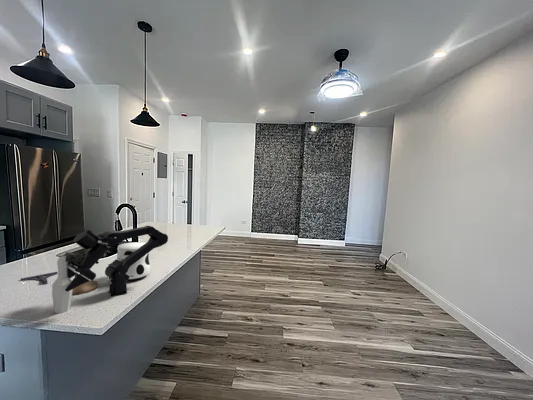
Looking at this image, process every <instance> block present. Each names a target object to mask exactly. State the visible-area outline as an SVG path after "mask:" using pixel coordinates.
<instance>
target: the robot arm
mask: <svg viewBox="0 0 533 400" xmlns="http://www.w3.org/2000/svg"><path fill="white" fill-rule="evenodd" d="M140 236H148V237H149V239H148V240H147V242H144V243H145V244H144V245H143V246H141V247H140V248H139V249H137V250H136V251H134V252H133V253H132V254H130V255H129V256H127V257H126V258H125V259H123V260H121V261H119V260H117V258H116V259H114V261H112V262H110V263H108V265H107V266H106V267H105V270H104V274H105V276H106V277H108V279H109V280H110V283H109V284H108V285H109V287H108V288H109V290H108V291H109V292H108V293H109V294H110V297H115V296H119V295H125V294H128V292H127V282H128V281H129V280H128V279H129V276H128V275H127V274H126V273H127V271H128V269H129V267H130V266H132V265H133V264H134V263H135V262H137V261H138V260H139V259H141V258H142V257H143V256H145V255H146V254H147V253H149V254H150V252H151V251H153V250H154V249H157V248H159V247H162V246H163V245H165V244H167V243H168V242H169V235H168V234H167V233H163V232H161V231H160V230H159V229H157V228H155V227H154V226H151V225H145V226H140V227H135V228H131V229H126V230H125V229H124V230H107V231H104V232H103V233H100V234H97V235H95V234H94V233H93V232H92V231H91V230H90V229H85V230H84V231H82V232H80V233H79V234H77V235H76V236H75V237H74V238H73V243H75V244H77V246H80V247H81V248H82V249H84V250H88V251H87V252H86V253H85V252H83V253H78V252H76V253H73V252H72V253H71V252H66V251H65V254H64V256H66V262H68V267H67V276H68V277H69V278H70V279H71V278H73V277H74V278H73V279H71V280H72V282H71V283H70V284H69V285H68V286H67V288H66V289H65V291H67V292H68V291H70V290H72V289H74V288H76V287H78V286H80V285H82V284H84V283H86V282H89V280H92V281H95V279H96V278H97V273H95V272H94V271H92V268H93V267H94V266H95V264H96V265H98V264H99V263H100V262H99V260H100V259H101V258H102V257H103V256H104V255H105V254H106V253H107V252H108V253H110V254H112V253H113V246H115V245H118V244H122V242H124V241H126V240H129V239H134V238H137V237H140ZM106 244H107V245H106ZM108 245H110V246H108Z"/></svg>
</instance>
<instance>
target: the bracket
mask: <svg viewBox="0 0 533 400" xmlns="http://www.w3.org/2000/svg"><path fill="white" fill-rule="evenodd" d="M55 275H58V271H54V272H48V273H43V274H37V275H33V276H27V277H21V278H20V281H21V282H23V281H24V282H25V281H40V282H41V283H42V284H43V285H47V284H48V278H51V277H53V276H55Z"/></svg>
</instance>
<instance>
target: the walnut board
mask: <svg viewBox="0 0 533 400" xmlns="http://www.w3.org/2000/svg"><path fill="white" fill-rule="evenodd" d="M98 288H99V282H98V281H97V280H93V281H92V280H90V279H89V282H86V283H84V284H82V285H80V286H78V287H76V288H74V289H73V292H72V296H78V295H83V294H87V293H90V292H93V291H95V290H96V289H98Z"/></svg>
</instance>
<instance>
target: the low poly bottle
mask: <svg viewBox="0 0 533 400" xmlns="http://www.w3.org/2000/svg"><path fill="white" fill-rule="evenodd" d="M56 265H57V273H58V274H57V278H56V279H55V280H54V282H52V286H51V287H52V288H51V295H52V300H53V301H52V302H53V308H54V312H55V314H61V313H66V312H68V311H69V310H70V309H71V303H72V297H73V295H72V292H73V289H72V290H70V291H68V292H67V291H65V289H66V288H67V286H68V285H69V284H70V283H71V282H72V280H73V279H71V278H69V277H68V276H67V267H68V262H66V256H65V255H62V256H59V257H58V259H57V262H56Z"/></svg>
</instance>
